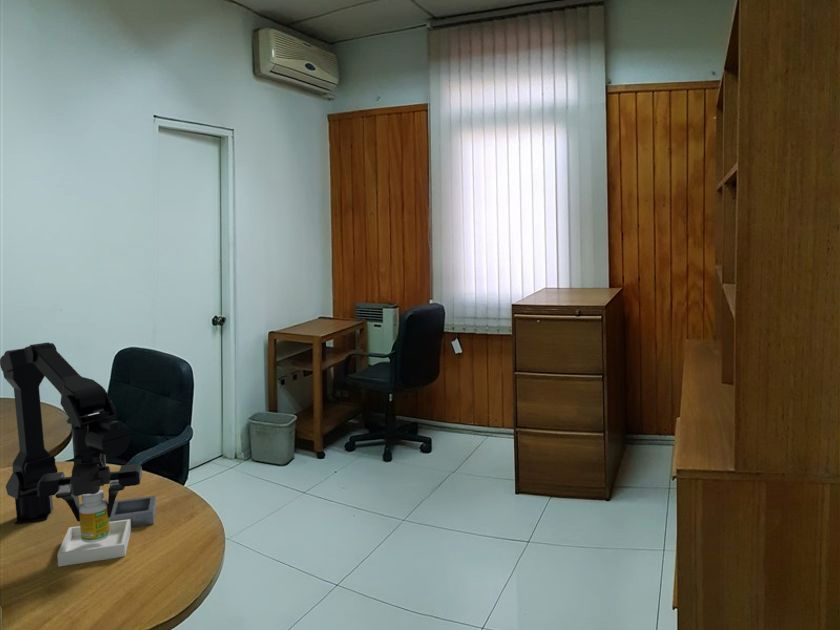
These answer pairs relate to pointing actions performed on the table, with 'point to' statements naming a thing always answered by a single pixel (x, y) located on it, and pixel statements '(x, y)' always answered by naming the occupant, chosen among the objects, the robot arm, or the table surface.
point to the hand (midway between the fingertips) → (94, 518)
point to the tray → (94, 545)
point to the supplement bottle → (94, 517)
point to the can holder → (135, 511)
